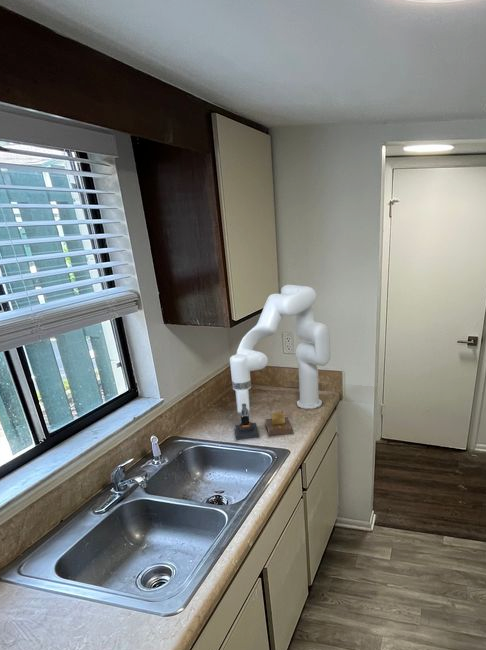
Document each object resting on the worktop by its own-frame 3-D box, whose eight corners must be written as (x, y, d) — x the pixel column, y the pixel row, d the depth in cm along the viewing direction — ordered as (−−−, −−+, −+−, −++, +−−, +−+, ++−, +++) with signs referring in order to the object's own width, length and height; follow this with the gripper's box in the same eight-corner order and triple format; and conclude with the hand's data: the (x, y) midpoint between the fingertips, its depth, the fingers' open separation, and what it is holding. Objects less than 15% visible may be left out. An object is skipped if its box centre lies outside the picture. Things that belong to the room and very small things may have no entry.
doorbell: (235, 429, 193) (234, 421, 191) (256, 426, 195) (255, 418, 194) (237, 440, 183) (236, 431, 182) (258, 437, 186) (257, 429, 184)
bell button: (241, 426, 189) (241, 423, 189) (250, 425, 190) (249, 422, 190) (242, 430, 186) (241, 426, 185) (250, 429, 187) (250, 425, 186)
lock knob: (272, 424, 190) (271, 413, 188) (272, 423, 192) (271, 412, 189) (285, 423, 191) (284, 412, 189) (284, 421, 193) (283, 411, 191)
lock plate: (266, 425, 197) (265, 418, 195) (288, 422, 199) (287, 416, 198) (269, 436, 186) (268, 430, 185) (292, 434, 189) (292, 427, 187)
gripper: (231, 379, 186) (235, 418, 193) (233, 391, 173) (237, 433, 180) (249, 377, 188) (252, 416, 195) (252, 389, 174) (256, 430, 182)
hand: (245, 424), depth 187 cm, fingers closed
